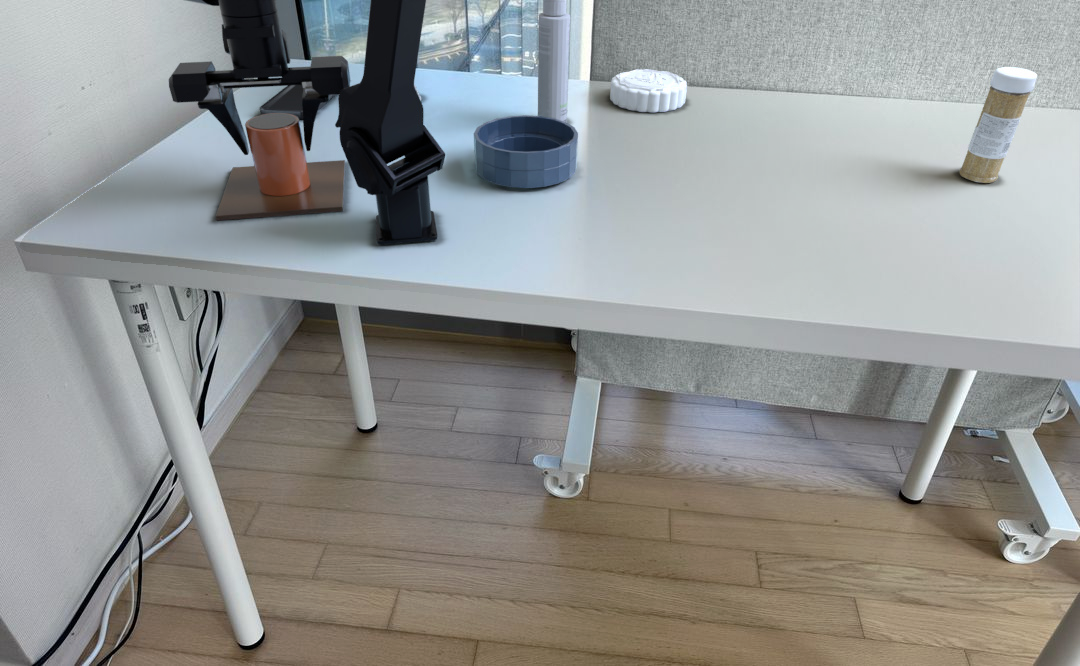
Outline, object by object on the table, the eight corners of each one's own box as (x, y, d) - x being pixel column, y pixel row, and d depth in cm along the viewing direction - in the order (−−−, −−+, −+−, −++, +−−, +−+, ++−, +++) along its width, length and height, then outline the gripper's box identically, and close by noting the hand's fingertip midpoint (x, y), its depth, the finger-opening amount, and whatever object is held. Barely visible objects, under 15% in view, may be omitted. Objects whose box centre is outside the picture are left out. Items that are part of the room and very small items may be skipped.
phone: (256, 109, 112) (295, 78, 124) (258, 116, 112) (297, 85, 124) (307, 112, 111) (341, 81, 123) (309, 119, 111) (342, 88, 124)
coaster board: (343, 211, 87) (342, 206, 87) (216, 220, 85) (215, 216, 85) (345, 164, 98) (344, 159, 98) (233, 171, 96) (232, 167, 96)
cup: (309, 194, 89) (297, 128, 85) (256, 198, 88) (241, 131, 84) (311, 174, 94) (300, 110, 89) (262, 177, 93) (248, 113, 88)
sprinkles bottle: (972, 167, 99) (1010, 63, 91) (1004, 180, 96) (1047, 73, 88) (950, 174, 97) (987, 68, 89) (982, 187, 94) (1023, 79, 86)
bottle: (560, 128, 109) (564, -20, 98) (533, 124, 111) (533, -23, 99) (571, 119, 113) (576, -26, 101) (544, 115, 114) (546, -29, 103)
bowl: (586, 187, 93) (588, 149, 90) (482, 195, 91) (481, 156, 88) (564, 148, 103) (565, 112, 100) (470, 154, 101) (468, 118, 98)
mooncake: (697, 97, 121) (700, 75, 119) (664, 118, 113) (666, 95, 111) (632, 84, 127) (633, 62, 125) (596, 103, 119) (597, 80, 117)
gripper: (341, -7, 88) (358, 123, 97) (171, -2, 85) (206, 132, 94) (338, 15, 79) (358, 156, 88) (149, 21, 76) (190, 167, 85)
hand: (278, 151), depth 89 cm, fingers open, 7 cm apart
